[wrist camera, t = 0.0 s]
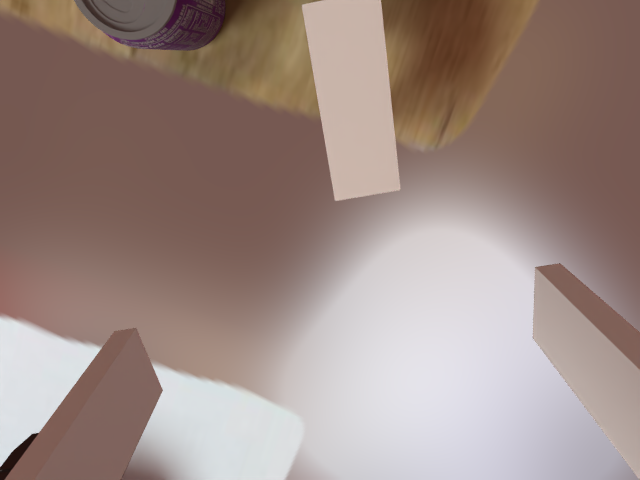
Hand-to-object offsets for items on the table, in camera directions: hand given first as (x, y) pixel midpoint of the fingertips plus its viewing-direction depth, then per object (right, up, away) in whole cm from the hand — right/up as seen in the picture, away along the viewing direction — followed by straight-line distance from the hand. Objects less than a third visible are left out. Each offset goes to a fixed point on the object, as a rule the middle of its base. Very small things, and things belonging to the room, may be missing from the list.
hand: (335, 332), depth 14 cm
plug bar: (+2, +16, +23) cm, 29 cm away
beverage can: (-12, +23, +21) cm, 33 cm away
